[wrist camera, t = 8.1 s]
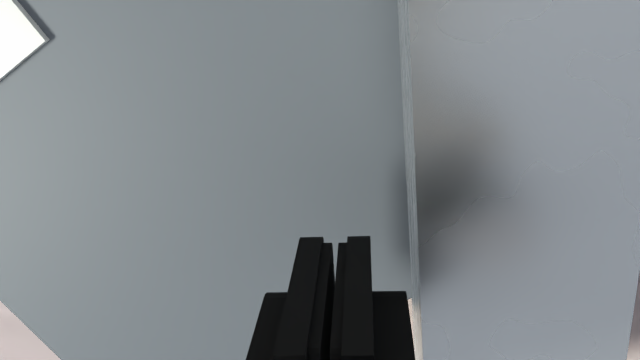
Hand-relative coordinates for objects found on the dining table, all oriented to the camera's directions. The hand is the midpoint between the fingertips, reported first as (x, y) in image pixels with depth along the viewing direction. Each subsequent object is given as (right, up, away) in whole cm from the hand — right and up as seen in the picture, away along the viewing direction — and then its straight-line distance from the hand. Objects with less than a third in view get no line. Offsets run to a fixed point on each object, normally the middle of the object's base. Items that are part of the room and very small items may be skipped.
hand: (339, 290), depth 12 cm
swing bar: (+3, +5, 0) cm, 6 cm away
